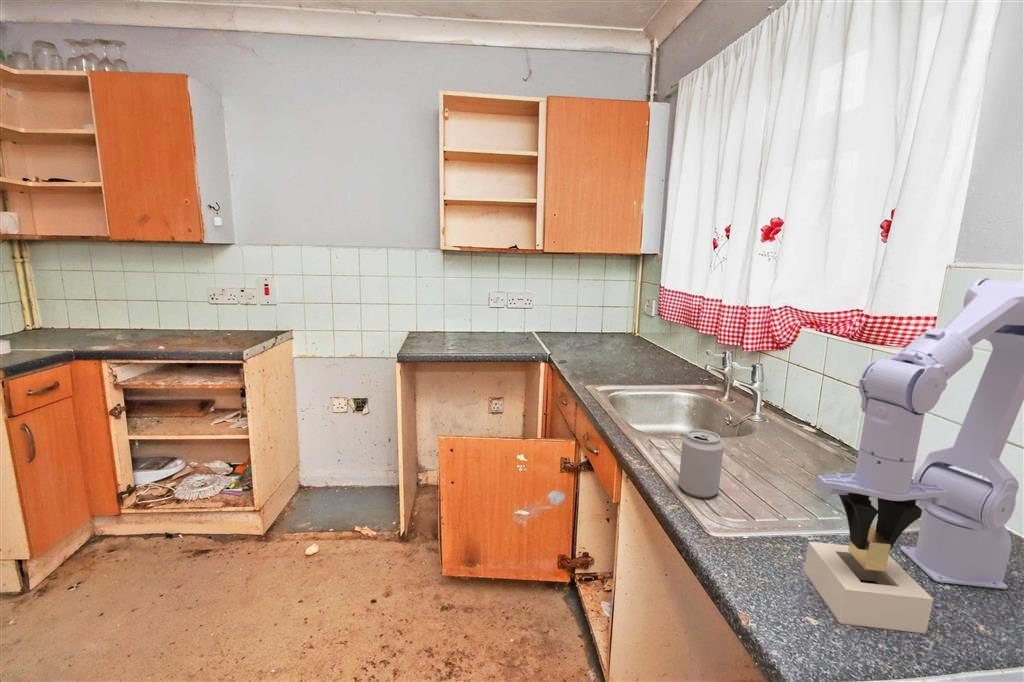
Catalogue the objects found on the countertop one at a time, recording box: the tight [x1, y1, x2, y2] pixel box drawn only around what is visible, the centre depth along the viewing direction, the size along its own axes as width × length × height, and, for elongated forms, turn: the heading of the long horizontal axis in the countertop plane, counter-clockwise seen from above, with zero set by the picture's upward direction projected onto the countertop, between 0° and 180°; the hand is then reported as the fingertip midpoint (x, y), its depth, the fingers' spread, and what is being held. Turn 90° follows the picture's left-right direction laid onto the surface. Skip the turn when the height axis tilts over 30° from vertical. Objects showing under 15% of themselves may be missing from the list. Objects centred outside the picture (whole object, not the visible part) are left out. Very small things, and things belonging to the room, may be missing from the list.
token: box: [848, 526, 891, 572], centre depth 63 cm, size 2×4×4 cm, turn 172°
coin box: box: [803, 541, 934, 634], centre depth 64 cm, size 10×10×5 cm
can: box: [678, 428, 725, 499], centre depth 92 cm, size 8×8×12 cm
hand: (869, 546), depth 62 cm, fingers closed on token, 2 cm apart
